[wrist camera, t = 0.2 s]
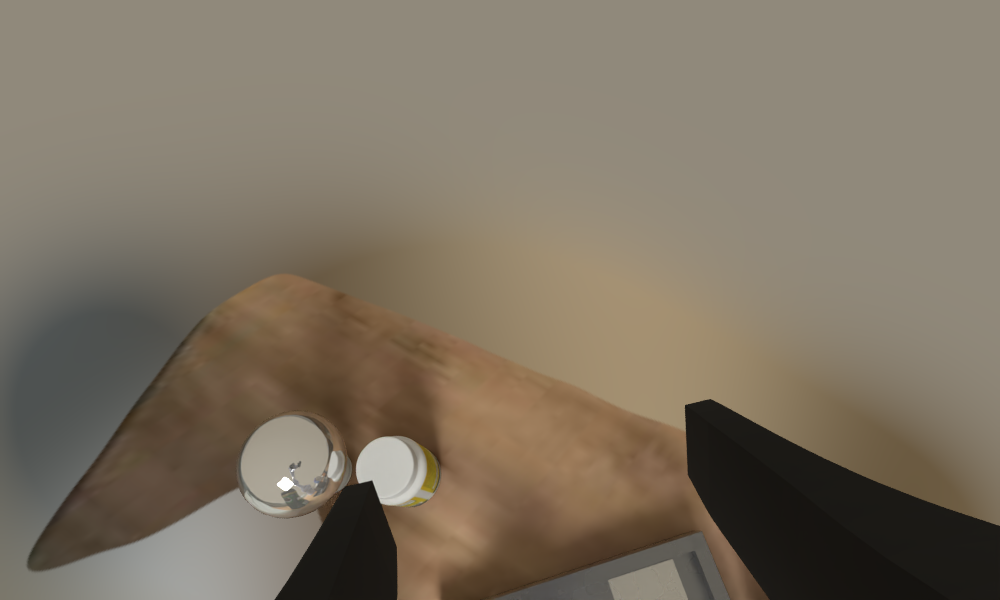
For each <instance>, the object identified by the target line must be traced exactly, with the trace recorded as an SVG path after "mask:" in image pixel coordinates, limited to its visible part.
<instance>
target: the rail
mask: <svg viewBox="0 0 1000 600" xmlns="http://www.w3.org/2000/svg"><path fill="white" fill-rule="evenodd" d="M482 600H730V598H729V596H728V593H727V591H726V588H725V586H724V583H723V581H722V579H721V576H720V574H719V571H718V569H717V567H716V564H715V562H714V559H713V557H712V555H711V552H710V550H709V547H708V545H707V543H706V540H705V538H704V535H703V533H702V531H691V532H688V533H685V534H682V535H679V536H676V537H673V538H670V539H667V540H664V541H660V542H657V543H654V544H651V545H648V546H645V547H642V548H639V549H636V550H633V551H630V552H627V553H624V554H620V555H617V556H614V557H611V558H608V559H605V560H602V561H599V562H596V563H593V564H590V565H587V566H583V567H580V568H577V569H574V570H571V571H568V572H565V573H562V574H559V575H556V576H553V577H550V578H547V579H543V580H540V581H537V582H534V583H531V584H528V585H525V586H522V587H519V588H516V589H513V590H510V591H507V592H503V593H500V594H497V595H494V596H491V597H488V598H485V599H482Z"/></svg>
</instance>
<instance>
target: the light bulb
mask: <svg viewBox="0 0 1000 600" xmlns="http://www.w3.org/2000/svg"><path fill="white" fill-rule="evenodd" d="M351 475H352V463H351V460H350V459H349V457H348V456H347V450H346V446H345V441H344V439H343V437H342V435H341V433H340V432H339V430H338V429H337V428H336V426H335V425H333V424H332V423H331V422H330V421H329V420H328V419H326V418H325V417H323V416H321V415H319V414H316V413H312V412H308V411H300V410H294V411H288V412H283V413H279V414H277V415H274V416H272V417H270V418H268V419H266V420H265V421H263V422H262V423H261V424H259V425H258V426H257V427H256V428H255V429H254V430H253V431H252V432H251V433H250V434H249V435H248V436H247V438H246V440H245V441H244V443H243V444H242V447H241V449H240V451H239V454H238V458H237V462H236V476H237V483H238V486H239V489H240V492H241V493H242V495H243V497H244V498H245V500H246V501H247V502H248V503H249V504H250V505H251V506H253V507H254V508H255V509H256V510H258V511H259V512H261V513H263V514H265V515H269V516H272V517H277V518H293V517H299V516H303V515H306V514H308V513H311V512H313V511H315V510H316V509H318V508H320V507H321V506H322V505H324V504H325V503H326V502H327V501H328V500H329V499H330V498H331V497H332V496H333V495H334V494H335V493H336V492H338V491H340V490H342V489H343V488H344V487H345V486H346V485H347V483H348V482H349V480H350V478H351Z"/></svg>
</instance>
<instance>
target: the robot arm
mask: <svg viewBox="0 0 1000 600" xmlns="http://www.w3.org/2000/svg"><path fill="white" fill-rule="evenodd" d="M685 416H686V417H685V418H686V442H687V465H688V476H689V478H690V479H691V481H692V483H693V485H694V487H695V489H696V491H697V493H698V495H699V496H700V498H701V500H702V502H703V504H704V505H705V507H706V509H707V511H708V512H709V514H710V516H711V517H712V519H713V520H714V522H715V523H716V525H717V526H718V527H719V529H720V530H721V532H722V533H723V535H724V536H725V537H726V539H727V540H728V542H729V543H730V545H731V546H732V547H733V549H734V550H735V552H736V553H737V554H738V556H739V557H740V559H741V560H742V561H743V563H744V564H745V566H746V567H747V568H748V570H749V571H750V572H751V574H752V575H753V577H754V578H755V579H756V581H757V582H758V584H759V585H760V586H761V588H762V589H763V591H764V592H765V593H766V595H767V596H768V598H769V599H770V600H1000V526H998V525H995V524H992V523H989V522H986V521H983V520H980V519H977V518H973V517H971V516H968V515H965V514H962V513H958V512H955V511H953V510H949V509H946V508H944V507H941V506H938V505H935V504H932V503H930V502H927V501H924V500H921V499H919V498H916V497H914V496H911V495H909V494H906V493H903V492H901V491H898V490H896V489H893V488H891V487H888V486H885V485H883V484H880V483H878V482H876V481H873V480H871V479H868V478H866V477H864V476H862V475H859V474H857V473H855V472H853V471H850V470H848V469H846V468H844V467H841V466H839V465H837V464H835V463H833V462H831V461H829V460H826V459H824V458H822V457H820V456H818V455H816V454H814V453H812V452H810V451H808V450H806V449H804V448H802V447H800V446H798V445H796V444H794V443H792V442H790V441H788V440H786V439H784V438H782V437H780V436H779V435H777V434H775V433H773V432H771V431H769V430H767V429H766V428H764V427H762V426H760V425H758V424H756V423H754V422H752V421H751V420H749V419H747V418H745V417H743V416H742V415H740V414H738V413H736V412H734V411H732V410H731V409H729V408H727V407H725V406H723V405H721V404H719V403H717V402H715V401H713V400H711V399H709V400H705V401H700V402H696V403H692V404H688V405H685ZM275 600H397V547H396V544H395V541H394V538H393V536H392V533H391V530H390V527H389V525H388V522H387V519H386V516H385V514H384V511H383V508H382V505H381V503H380V500H379V497H378V494H377V492H376V489H375V486H374V483H373V481H372V480H371V481H367V482H363V483H359V484H355V485H350V486H346V487H345V488H344V489H343V490H342V492H341V494H340V495H339V497H338V499H337V500H336V502H335V504H334V505H333V507H332V509H331V510H330V512H329V514H328V516H327V517H326V519H325V521H324V522H323V524H322V526H321V527H320V529H319V531H318V533H317V534H316V536H315V538H314V539H313V541H312V543H311V544H310V546H309V547H308V549H307V551H306V552H305V554H304V555H303V557H302V559H301V560H300V562H299V564H298V565H297V567H296V568H295V570H294V572H293V573H292V575H291V576H290V578H289V579H288V581H287V582H286V584H285V585H284V587H283V588H282V590H281V591H280V593H279V594H278V596H277V597H276V599H275Z"/></svg>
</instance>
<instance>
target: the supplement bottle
mask: <svg viewBox="0 0 1000 600" xmlns="http://www.w3.org/2000/svg"><path fill="white" fill-rule="evenodd" d="M356 476H357V480H358V482H359V483H363V482H367V481H371V480H372V481H373V483H374V486H375V489H376V492H377V494H378V497H379V500H380V503H381V504H384V505H389V506H401V507H415V506H419V505H422V504H423V503H425V502H427V501H428V500H429V499H430V498H431V497H432V496H433V495H434V494H435V492H436V490H437V488H438V486H439V483H440V479H441V470H440V465H439V462H438V460H437V458H436V457H435V456H434V454H433V453H432V452H430V451H429V450H428V449H426V448H425V447H423V446H421V445H420V444H418V443H417V442H415V441H413V440H412V439H410V438H407V437H403V436H391V437H390V436H386V437H380V438H377V439H375V440H373V441H372V442H370V443H369V444H368V445H367V446H366V447H365V448H364V449H363V450H362V452H361V453H360V455H359V457H358V460H357V464H356Z"/></svg>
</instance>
